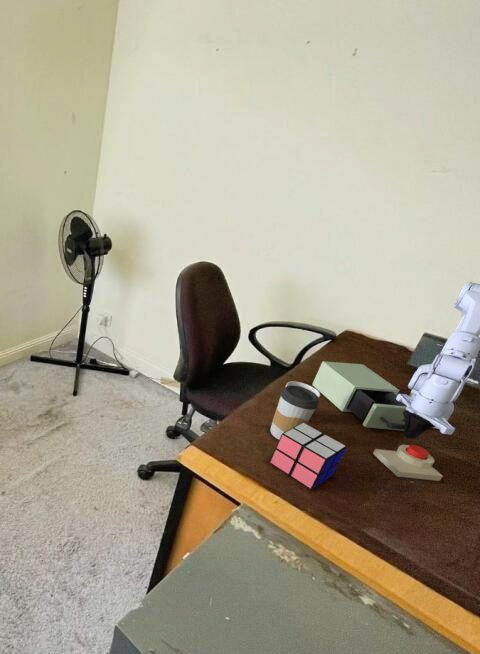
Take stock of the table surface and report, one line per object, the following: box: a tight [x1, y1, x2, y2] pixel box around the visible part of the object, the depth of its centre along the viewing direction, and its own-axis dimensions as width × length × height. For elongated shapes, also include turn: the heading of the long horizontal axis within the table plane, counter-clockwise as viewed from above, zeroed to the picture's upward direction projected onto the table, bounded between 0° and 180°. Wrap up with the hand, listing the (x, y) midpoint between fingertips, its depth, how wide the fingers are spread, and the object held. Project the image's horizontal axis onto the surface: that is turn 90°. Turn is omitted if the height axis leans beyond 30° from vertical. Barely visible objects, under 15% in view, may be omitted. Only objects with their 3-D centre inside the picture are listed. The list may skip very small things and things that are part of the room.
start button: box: [407, 444, 430, 460], centre depth 107 cm, size 4×4×2 cm
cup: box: [284, 380, 321, 399], centre depth 124 cm, size 8×8×10 cm
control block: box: [372, 444, 444, 482], centre depth 107 cm, size 11×9×4 cm
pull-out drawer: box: [347, 389, 407, 432], centre depth 123 cm, size 18×11×8 cm, turn 173°
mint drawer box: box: [311, 361, 400, 413], centre depth 132 cm, size 15×13×10 cm
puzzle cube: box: [269, 423, 348, 490], centre depth 104 cm, size 10×10×10 cm
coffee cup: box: [269, 385, 320, 440], centre depth 114 cm, size 8×8×15 cm
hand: (409, 436), depth 113 cm, fingers closed
